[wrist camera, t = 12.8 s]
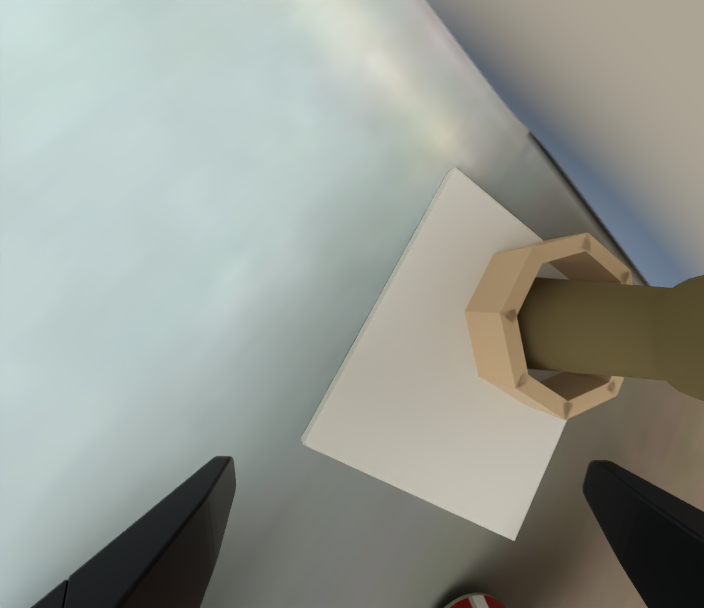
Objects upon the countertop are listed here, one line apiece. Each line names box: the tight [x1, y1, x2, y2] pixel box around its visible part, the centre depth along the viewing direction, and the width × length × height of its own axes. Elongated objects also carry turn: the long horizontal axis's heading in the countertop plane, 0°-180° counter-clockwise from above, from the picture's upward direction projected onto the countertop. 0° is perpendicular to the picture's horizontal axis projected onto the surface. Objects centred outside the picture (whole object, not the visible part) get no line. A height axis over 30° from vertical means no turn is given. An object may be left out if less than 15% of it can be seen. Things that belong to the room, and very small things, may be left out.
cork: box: [517, 275, 704, 401], centre depth 17 cm, size 6×6×11 cm
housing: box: [301, 167, 633, 541], centre depth 20 cm, size 18×16×4 cm
